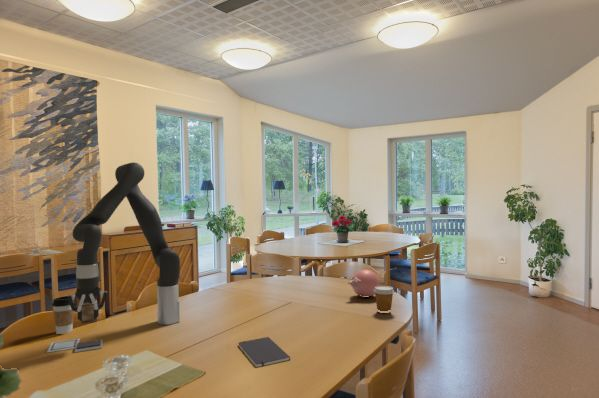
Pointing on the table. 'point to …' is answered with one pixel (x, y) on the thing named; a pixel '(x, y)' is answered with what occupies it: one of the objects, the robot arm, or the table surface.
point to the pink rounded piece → (364, 283)
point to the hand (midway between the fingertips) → (88, 319)
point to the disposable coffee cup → (383, 297)
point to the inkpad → (88, 345)
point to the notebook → (263, 351)
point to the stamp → (87, 313)
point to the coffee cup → (63, 315)
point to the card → (63, 345)
